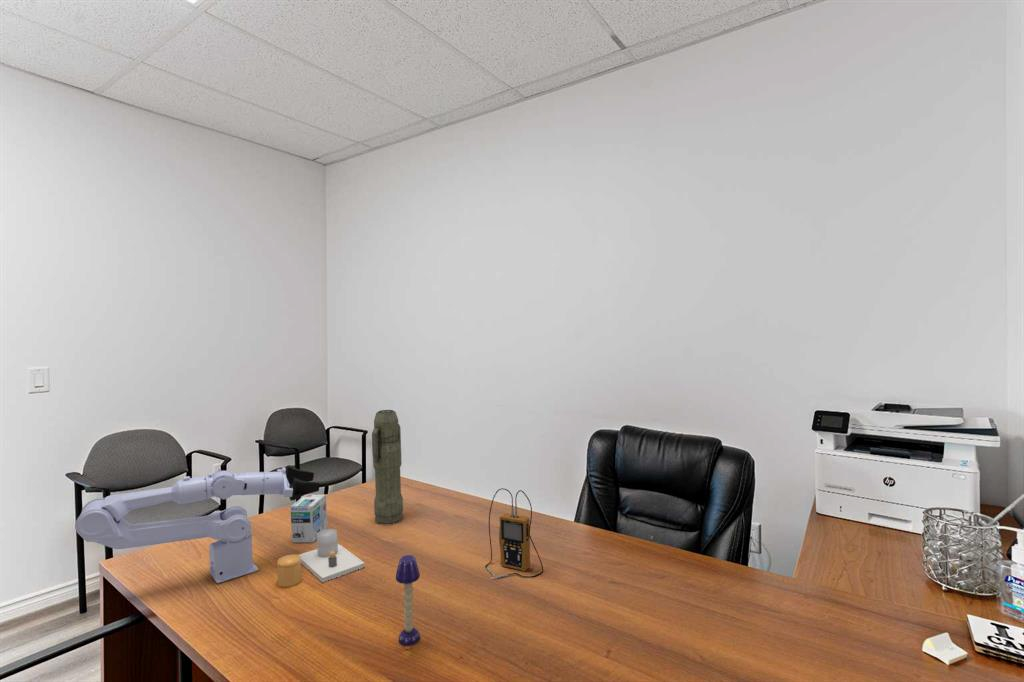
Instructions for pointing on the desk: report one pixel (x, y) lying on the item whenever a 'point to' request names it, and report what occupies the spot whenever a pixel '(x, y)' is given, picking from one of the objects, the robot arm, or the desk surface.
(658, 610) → the desk surface
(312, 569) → the plate
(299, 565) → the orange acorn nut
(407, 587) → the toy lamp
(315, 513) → the light bulb box
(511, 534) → the multimeter
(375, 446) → the thermos
